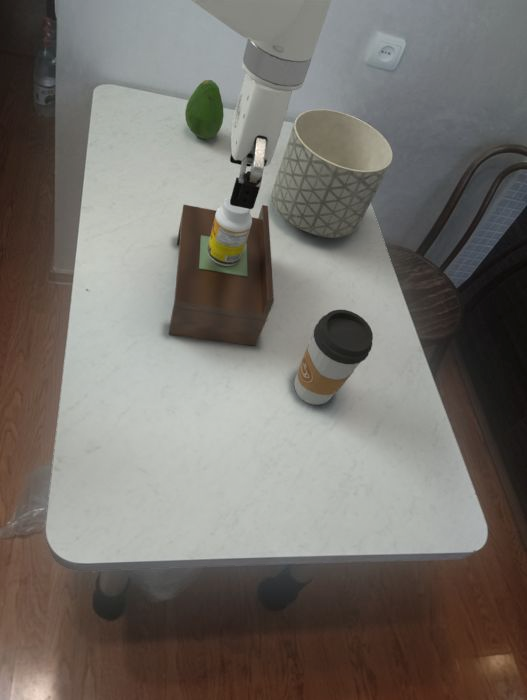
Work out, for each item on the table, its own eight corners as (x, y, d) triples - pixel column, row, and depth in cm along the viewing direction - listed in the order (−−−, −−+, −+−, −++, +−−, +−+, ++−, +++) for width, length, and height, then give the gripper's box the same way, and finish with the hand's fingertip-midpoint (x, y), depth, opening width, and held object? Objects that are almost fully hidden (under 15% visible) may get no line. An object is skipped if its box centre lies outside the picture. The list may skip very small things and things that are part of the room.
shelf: (168, 334, 84) (177, 286, 75) (177, 239, 97) (186, 189, 89) (255, 346, 87) (274, 301, 78) (252, 252, 100) (268, 205, 92)
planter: (320, 181, 120) (351, 105, 106) (372, 238, 112) (412, 164, 99) (250, 194, 111) (274, 112, 97) (301, 257, 103) (335, 178, 89)
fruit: (191, 147, 115) (200, 94, 106) (176, 125, 119) (184, 72, 110) (224, 145, 119) (236, 93, 110) (209, 124, 122) (219, 72, 113)
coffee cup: (280, 369, 85) (310, 308, 74) (326, 364, 88) (362, 304, 77) (297, 415, 81) (332, 357, 69) (345, 408, 84) (386, 351, 73)
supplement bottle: (216, 238, 88) (229, 186, 80) (246, 253, 87) (262, 203, 79) (200, 256, 84) (212, 204, 76) (231, 273, 84) (246, 222, 76)
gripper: (243, 20, 66) (215, 143, 79) (246, 89, 56) (213, 218, 69) (301, 37, 68) (264, 154, 81) (314, 107, 58) (269, 229, 71)
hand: (240, 183), depth 75 cm, fingers open, 9 cm apart
